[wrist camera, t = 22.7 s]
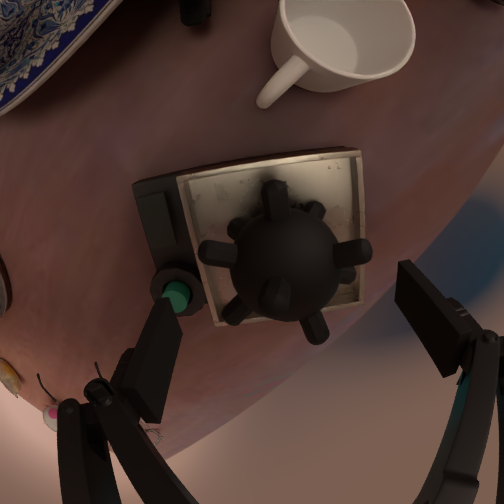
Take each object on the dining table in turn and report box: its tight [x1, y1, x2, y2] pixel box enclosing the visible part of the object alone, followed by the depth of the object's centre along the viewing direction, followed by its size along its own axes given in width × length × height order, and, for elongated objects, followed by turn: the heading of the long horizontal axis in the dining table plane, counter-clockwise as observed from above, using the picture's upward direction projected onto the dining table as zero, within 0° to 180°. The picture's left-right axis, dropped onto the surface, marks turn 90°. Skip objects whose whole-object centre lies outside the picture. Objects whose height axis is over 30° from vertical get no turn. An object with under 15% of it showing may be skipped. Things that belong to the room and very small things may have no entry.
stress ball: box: [43, 405, 59, 432], centre depth 41 cm, size 8×8×7 cm
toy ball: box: [197, 179, 373, 345], centre depth 20 cm, size 11×11×12 cm
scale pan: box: [138, 147, 366, 327], centre depth 24 cm, size 18×14×2 cm
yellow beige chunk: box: [0, 359, 21, 398], centre depth 38 cm, size 8×4×5 cm, turn 48°
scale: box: [132, 146, 347, 317], centre depth 26 cm, size 20×13×4 cm
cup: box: [256, 0, 415, 109], centre depth 17 cm, size 8×12×10 cm
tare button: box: [162, 281, 190, 313], centre depth 26 cm, size 2×2×2 cm
